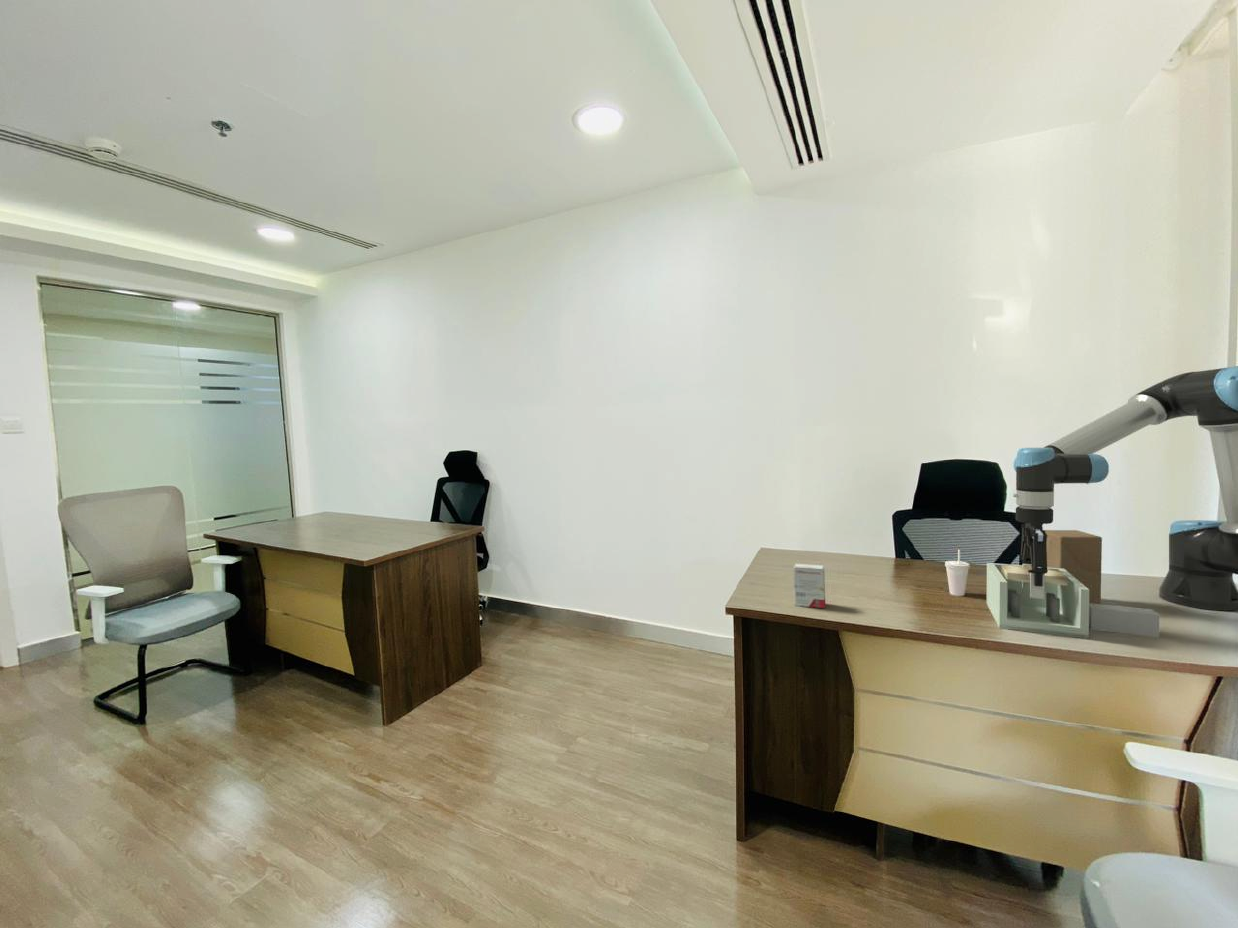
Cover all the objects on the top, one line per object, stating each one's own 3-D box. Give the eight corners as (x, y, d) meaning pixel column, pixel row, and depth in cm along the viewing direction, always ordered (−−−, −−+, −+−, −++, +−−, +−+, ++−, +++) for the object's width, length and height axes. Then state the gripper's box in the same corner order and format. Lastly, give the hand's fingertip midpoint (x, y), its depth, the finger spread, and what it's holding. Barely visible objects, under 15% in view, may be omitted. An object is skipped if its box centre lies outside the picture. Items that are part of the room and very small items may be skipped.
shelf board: (1058, 577, 130) (1058, 569, 130) (1067, 585, 123) (1067, 577, 123) (1001, 572, 136) (1001, 565, 136) (1007, 580, 129) (1007, 572, 129)
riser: (1151, 631, 121) (1151, 609, 121) (1158, 637, 117) (1159, 614, 117) (1085, 623, 127) (1086, 602, 126) (1091, 629, 123) (1091, 607, 123)
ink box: (825, 603, 148) (825, 564, 148) (825, 608, 144) (824, 569, 143) (795, 600, 152) (794, 562, 151) (793, 605, 147) (793, 566, 147)
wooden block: (1101, 608, 137) (1102, 536, 136) (1059, 606, 139) (1060, 536, 138) (1076, 596, 147) (1077, 529, 146) (1037, 595, 149) (1038, 529, 148)
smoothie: (962, 598, 148) (962, 552, 147) (940, 593, 154) (940, 548, 153) (974, 594, 151) (974, 549, 150) (952, 589, 157) (952, 545, 156)
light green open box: (1063, 611, 135) (1063, 568, 135) (1088, 639, 118) (1089, 589, 117) (986, 603, 143) (986, 562, 143) (999, 627, 126) (999, 581, 125)
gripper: (1008, 501, 140) (1006, 580, 141) (1025, 512, 121) (1023, 603, 123) (1042, 502, 136) (1040, 583, 137) (1065, 513, 118) (1063, 607, 119)
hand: (1032, 592), depth 130 cm, fingers closed on shelf board, 8 cm apart
